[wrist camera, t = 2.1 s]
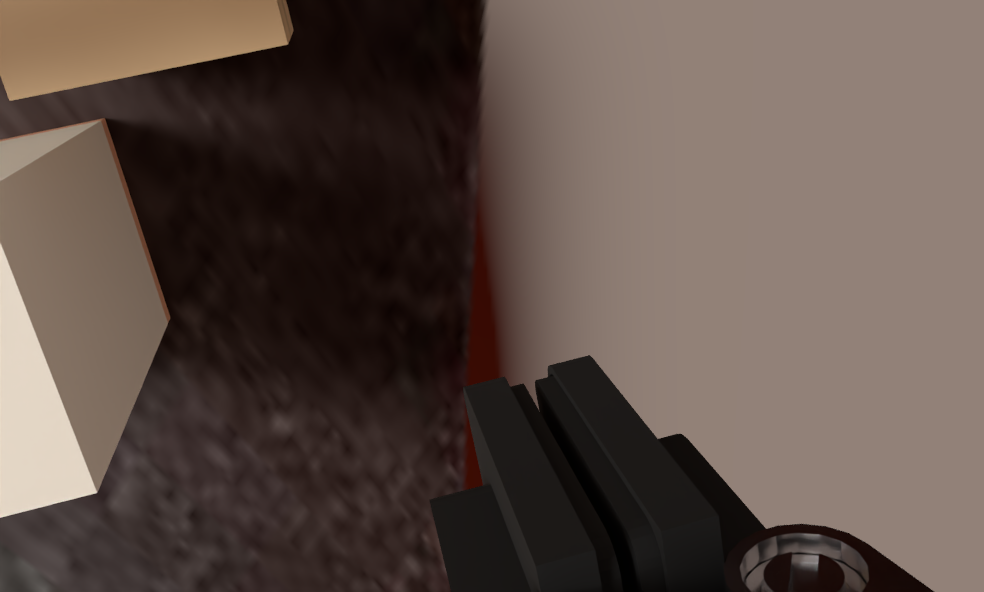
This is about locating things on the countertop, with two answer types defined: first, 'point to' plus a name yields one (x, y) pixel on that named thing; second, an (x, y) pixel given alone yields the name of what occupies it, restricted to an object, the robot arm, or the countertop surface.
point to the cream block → (69, 313)
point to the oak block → (126, 38)
